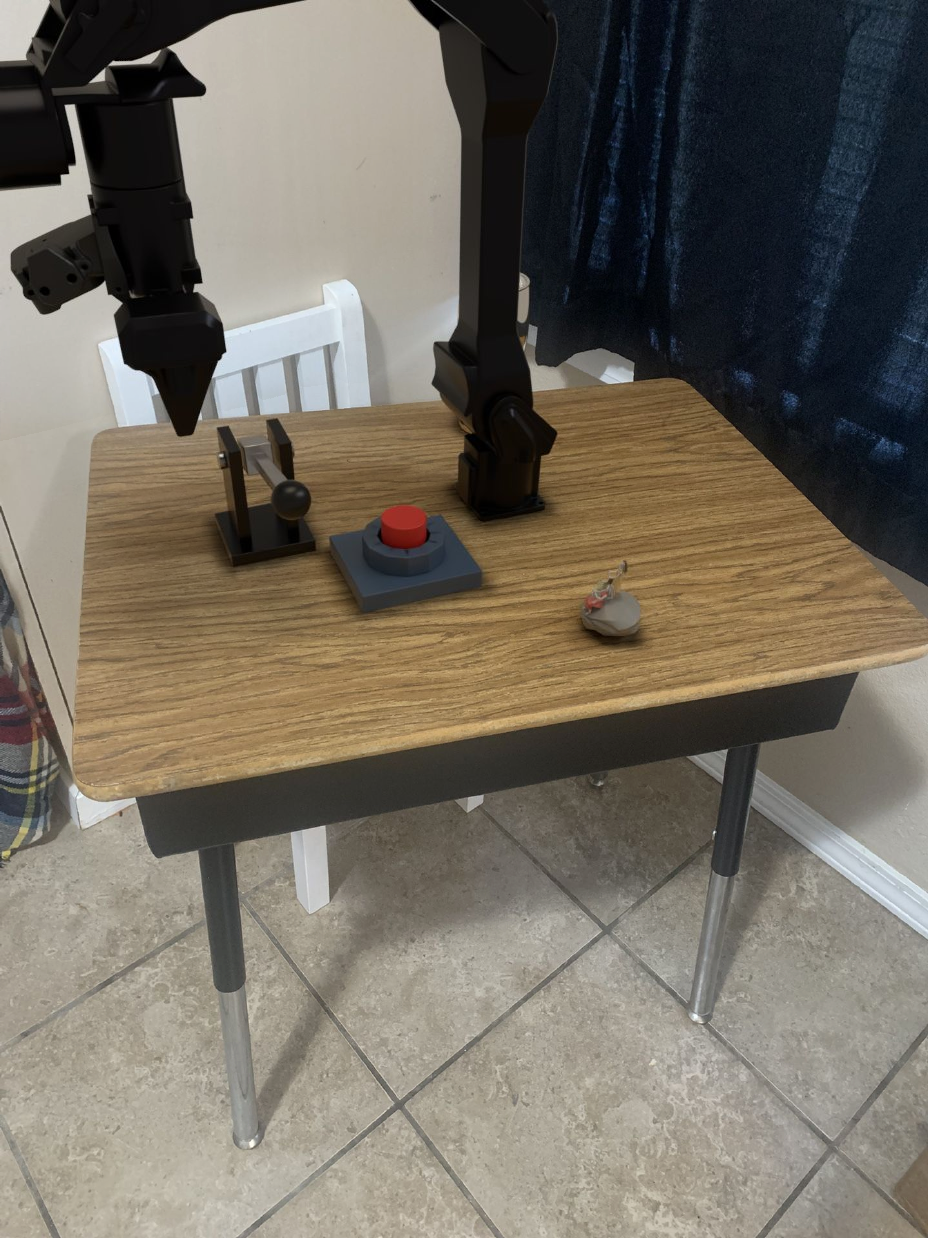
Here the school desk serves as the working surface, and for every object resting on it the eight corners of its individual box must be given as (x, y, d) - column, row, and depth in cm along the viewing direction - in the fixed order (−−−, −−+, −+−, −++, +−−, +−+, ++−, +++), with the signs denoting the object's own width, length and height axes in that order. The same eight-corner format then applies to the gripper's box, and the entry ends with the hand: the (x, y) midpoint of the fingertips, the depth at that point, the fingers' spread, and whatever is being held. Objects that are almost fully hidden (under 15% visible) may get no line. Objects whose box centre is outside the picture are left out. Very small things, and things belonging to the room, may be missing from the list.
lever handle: (318, 521, 68) (313, 483, 67) (278, 528, 68) (273, 490, 66) (271, 463, 81) (266, 430, 79) (237, 469, 80) (232, 435, 79)
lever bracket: (316, 551, 82) (308, 447, 76) (233, 568, 80) (218, 462, 74) (294, 510, 87) (285, 409, 81) (215, 524, 85) (200, 421, 79)
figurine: (647, 643, 74) (659, 579, 70) (593, 653, 73) (602, 588, 69) (619, 602, 78) (629, 539, 74) (567, 611, 77) (574, 547, 73)
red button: (417, 522, 80) (417, 501, 79) (433, 545, 78) (433, 524, 76) (375, 531, 79) (374, 509, 78) (390, 554, 77) (389, 532, 75)
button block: (440, 530, 85) (441, 495, 83) (481, 587, 79) (483, 551, 77) (329, 552, 82) (327, 517, 80) (363, 614, 76) (361, 577, 73)
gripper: (-1, 149, 66) (54, 368, 76) (-2, 233, 52) (65, 487, 62) (169, 140, 69) (200, 351, 79) (209, 216, 55) (242, 460, 65)
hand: (176, 406), depth 71 cm, fingers open, 9 cm apart
